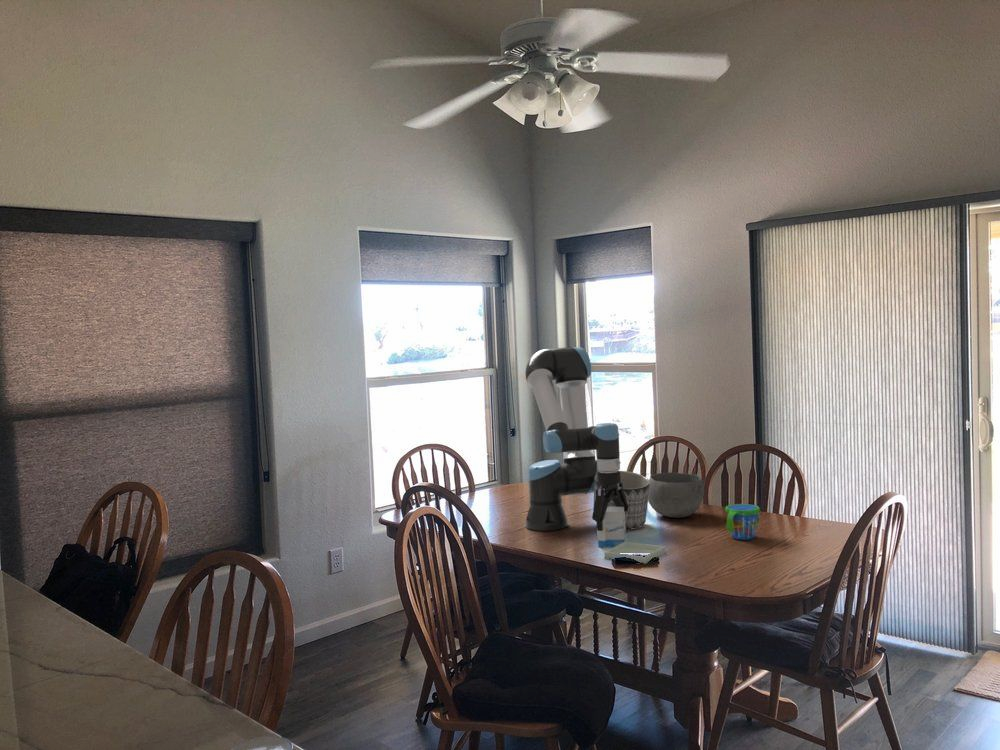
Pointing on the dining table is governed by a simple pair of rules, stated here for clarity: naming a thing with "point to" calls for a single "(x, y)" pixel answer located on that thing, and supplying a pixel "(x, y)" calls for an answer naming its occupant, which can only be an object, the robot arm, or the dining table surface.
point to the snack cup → (742, 520)
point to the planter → (631, 498)
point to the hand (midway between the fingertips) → (611, 535)
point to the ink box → (613, 527)
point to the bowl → (675, 494)
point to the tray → (635, 551)
